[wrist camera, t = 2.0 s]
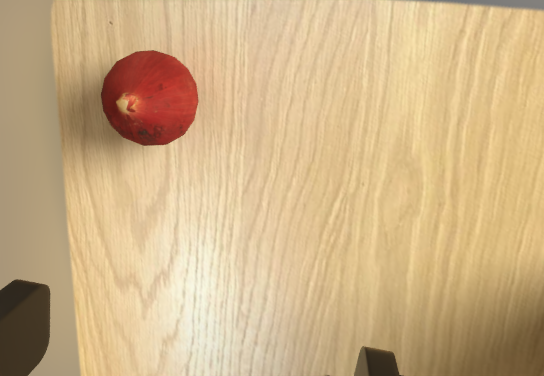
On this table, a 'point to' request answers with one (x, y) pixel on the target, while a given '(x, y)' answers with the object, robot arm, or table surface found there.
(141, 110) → the red round fruit
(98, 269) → the table surface
